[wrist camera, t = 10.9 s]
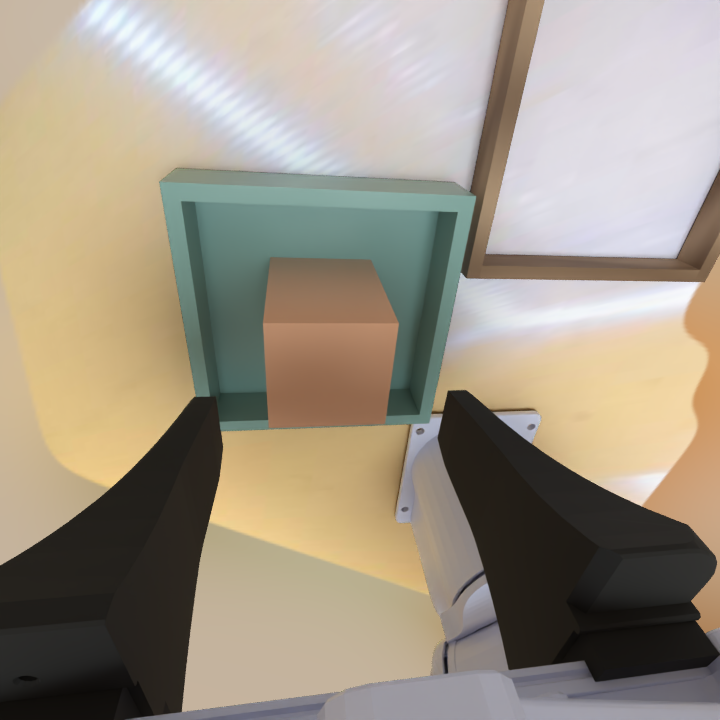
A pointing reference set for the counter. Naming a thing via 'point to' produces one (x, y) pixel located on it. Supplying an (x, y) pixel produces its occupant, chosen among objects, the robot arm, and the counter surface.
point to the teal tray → (310, 240)
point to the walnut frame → (698, 255)
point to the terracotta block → (327, 343)
